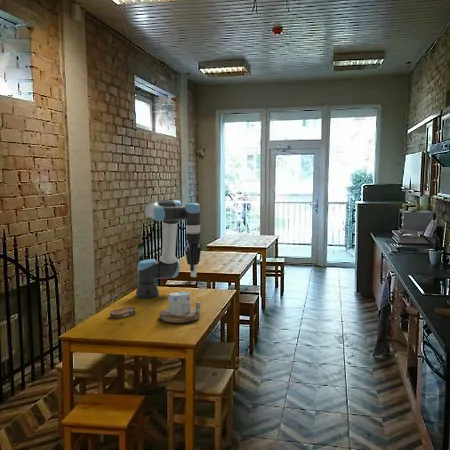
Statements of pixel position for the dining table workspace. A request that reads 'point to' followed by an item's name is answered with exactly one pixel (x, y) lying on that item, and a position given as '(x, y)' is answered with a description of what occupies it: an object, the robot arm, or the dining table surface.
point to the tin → (122, 312)
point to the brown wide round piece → (181, 315)
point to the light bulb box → (179, 302)
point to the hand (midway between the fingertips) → (193, 276)
